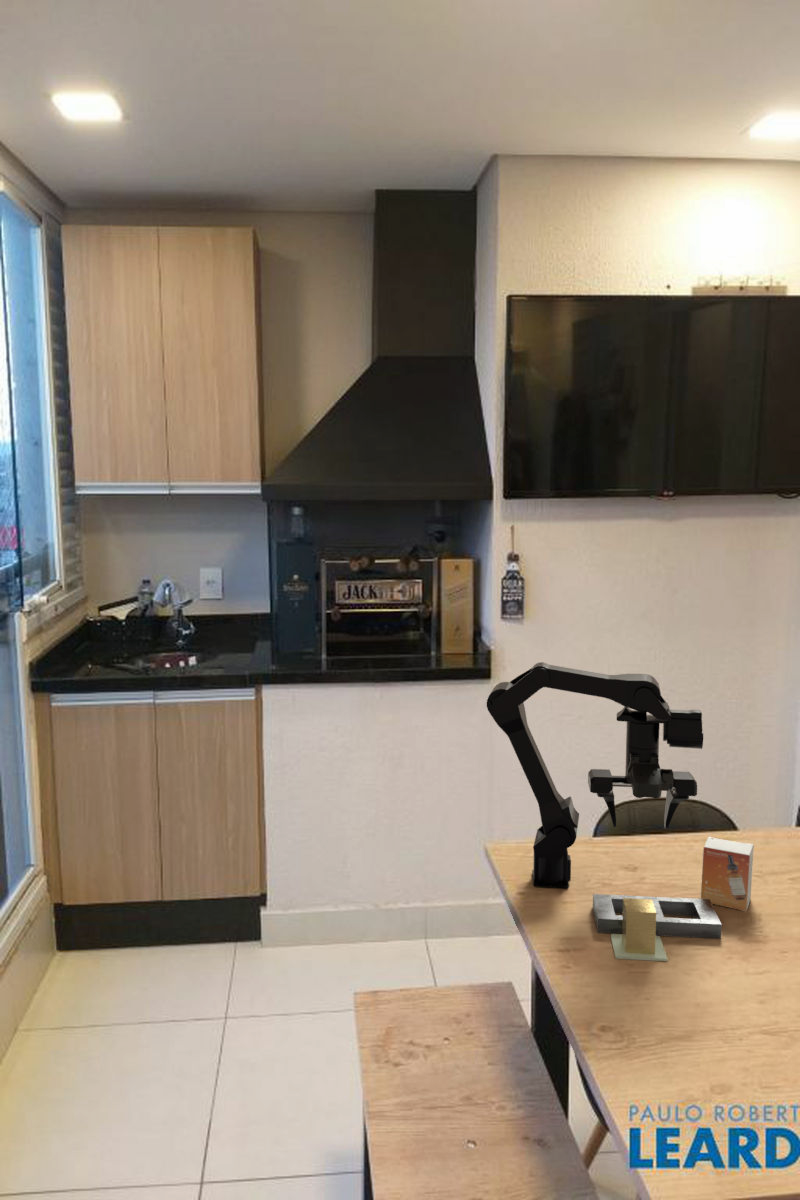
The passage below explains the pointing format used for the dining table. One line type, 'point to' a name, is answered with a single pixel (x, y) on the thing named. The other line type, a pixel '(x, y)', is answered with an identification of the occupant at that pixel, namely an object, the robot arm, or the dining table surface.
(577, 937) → the dining table surface
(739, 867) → the small box
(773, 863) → the dining table surface
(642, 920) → the block
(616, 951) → the mat
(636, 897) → the grey flat rectangular frame
